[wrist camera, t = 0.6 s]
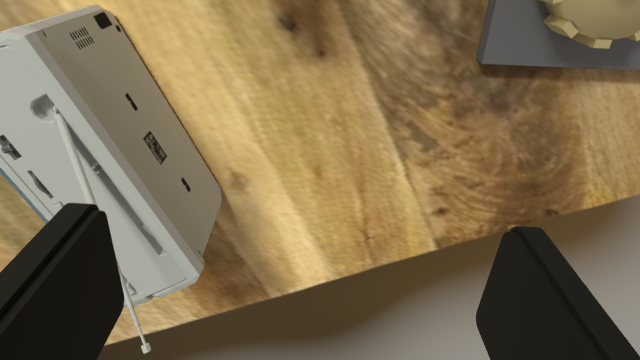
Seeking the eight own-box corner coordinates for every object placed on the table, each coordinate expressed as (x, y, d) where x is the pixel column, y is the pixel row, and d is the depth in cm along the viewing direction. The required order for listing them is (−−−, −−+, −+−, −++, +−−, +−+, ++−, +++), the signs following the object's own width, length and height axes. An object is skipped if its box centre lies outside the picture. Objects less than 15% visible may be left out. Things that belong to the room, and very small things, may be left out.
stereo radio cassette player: (31, 30, 36) (-242, 119, 18) (113, -11, 34) (-100, 43, 17) (168, 220, 45) (73, 397, 28) (237, 195, 44) (182, 365, 26)
